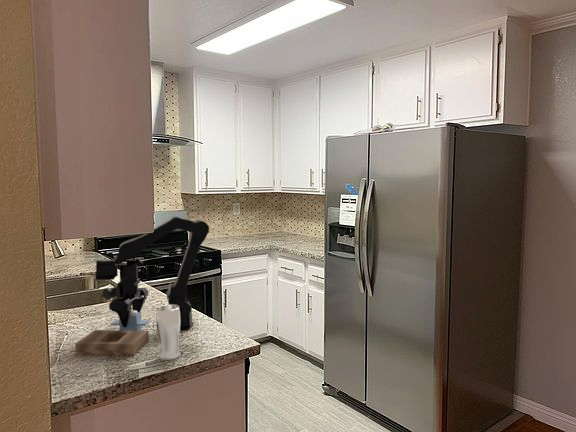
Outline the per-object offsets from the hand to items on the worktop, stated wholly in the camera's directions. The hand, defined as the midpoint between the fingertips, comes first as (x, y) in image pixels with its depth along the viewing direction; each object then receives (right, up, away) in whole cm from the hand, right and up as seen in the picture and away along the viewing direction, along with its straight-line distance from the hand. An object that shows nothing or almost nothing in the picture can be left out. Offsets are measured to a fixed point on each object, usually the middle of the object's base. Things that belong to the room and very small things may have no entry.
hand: (130, 322), depth 150 cm
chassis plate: (-1, -5, -13) cm, 14 cm away
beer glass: (+19, -5, -20) cm, 28 cm away
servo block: (0, -4, 0) cm, 4 cm away
